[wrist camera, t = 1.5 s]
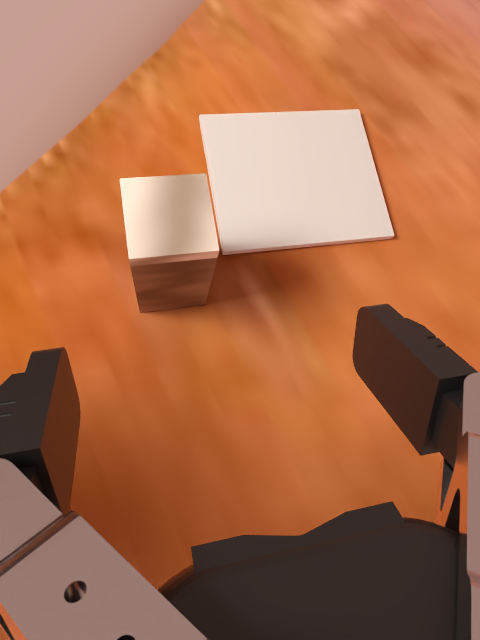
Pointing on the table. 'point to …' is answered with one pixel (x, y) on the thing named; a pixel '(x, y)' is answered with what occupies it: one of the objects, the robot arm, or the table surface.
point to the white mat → (292, 180)
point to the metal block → (170, 239)
